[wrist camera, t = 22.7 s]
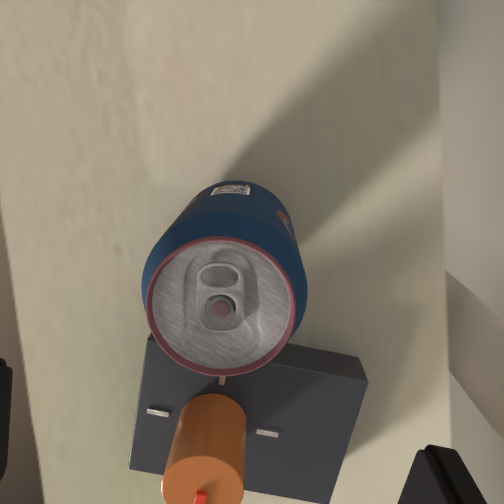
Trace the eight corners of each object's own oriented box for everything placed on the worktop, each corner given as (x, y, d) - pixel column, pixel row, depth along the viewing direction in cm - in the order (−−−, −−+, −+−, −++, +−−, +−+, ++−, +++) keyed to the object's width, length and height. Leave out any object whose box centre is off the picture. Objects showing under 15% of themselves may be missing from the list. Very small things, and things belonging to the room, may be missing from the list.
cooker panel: (358, 357, 31) (369, 383, 28) (323, 472, 34) (329, 507, 31) (158, 318, 30) (146, 340, 27) (139, 438, 33) (126, 471, 30)
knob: (185, 386, 28) (167, 452, 23) (253, 400, 28) (251, 469, 23) (173, 443, 29) (153, 518, 24) (239, 455, 30) (234, 534, 24)
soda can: (290, 283, 29) (309, 391, 18) (185, 283, 29) (136, 390, 18) (293, 177, 27) (315, 221, 16) (180, 177, 27) (121, 221, 16)
